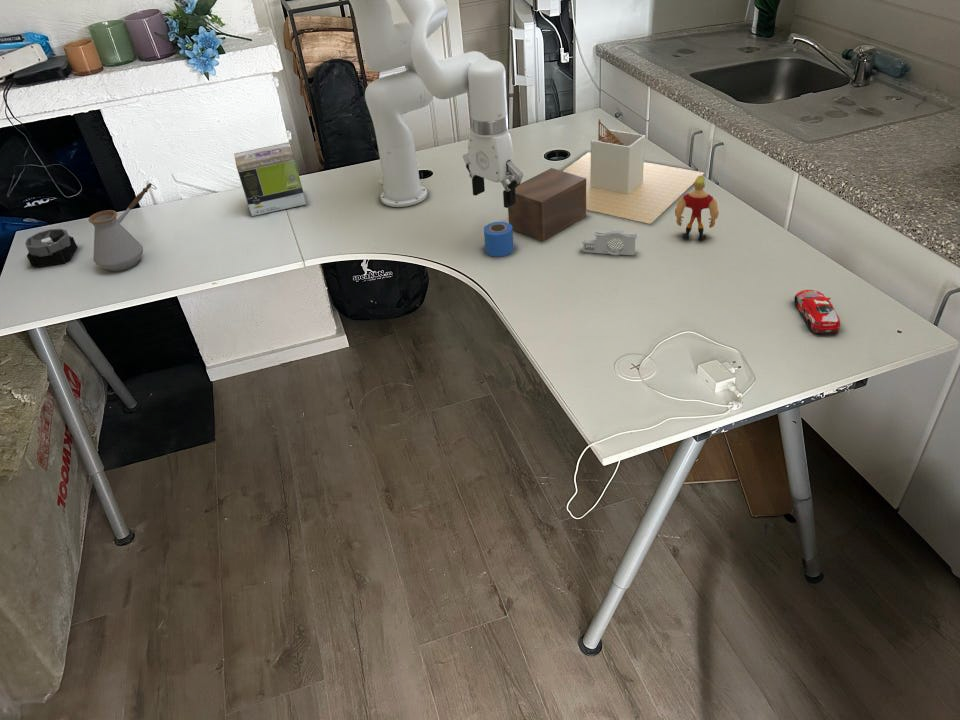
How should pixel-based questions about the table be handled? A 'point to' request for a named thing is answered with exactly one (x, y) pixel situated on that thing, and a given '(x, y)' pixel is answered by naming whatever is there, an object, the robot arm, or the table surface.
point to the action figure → (697, 208)
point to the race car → (817, 311)
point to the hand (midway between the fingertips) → (494, 199)
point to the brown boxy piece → (548, 204)
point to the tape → (498, 239)
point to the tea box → (270, 178)
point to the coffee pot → (115, 239)
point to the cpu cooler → (50, 247)
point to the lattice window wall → (605, 237)
